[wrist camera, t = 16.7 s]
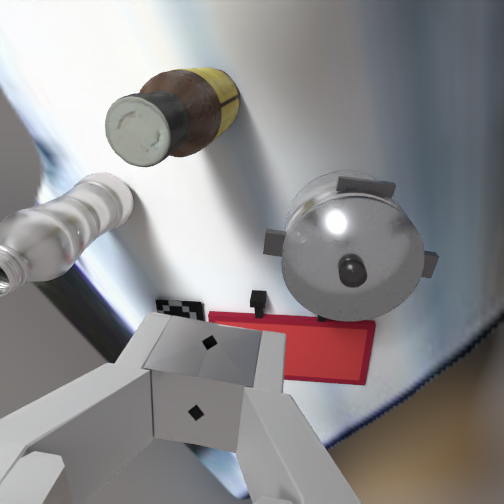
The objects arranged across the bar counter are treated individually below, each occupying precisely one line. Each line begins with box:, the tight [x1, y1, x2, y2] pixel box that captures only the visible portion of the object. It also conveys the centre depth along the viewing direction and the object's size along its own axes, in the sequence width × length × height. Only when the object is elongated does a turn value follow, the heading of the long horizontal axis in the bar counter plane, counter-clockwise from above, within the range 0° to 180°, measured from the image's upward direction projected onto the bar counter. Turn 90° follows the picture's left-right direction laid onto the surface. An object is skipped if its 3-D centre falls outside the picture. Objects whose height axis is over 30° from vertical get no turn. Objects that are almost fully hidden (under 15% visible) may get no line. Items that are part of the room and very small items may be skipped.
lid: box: [281, 196, 425, 321], centre depth 33 cm, size 13×13×3 cm
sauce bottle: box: [105, 68, 240, 167], centre depth 29 cm, size 6×6×20 cm
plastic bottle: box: [0, 173, 134, 297], centre depth 35 cm, size 6×7×20 cm
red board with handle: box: [155, 290, 376, 385], centre depth 50 cm, size 30×3×15 cm
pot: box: [263, 171, 439, 278], centre depth 38 cm, size 14×17×8 cm
